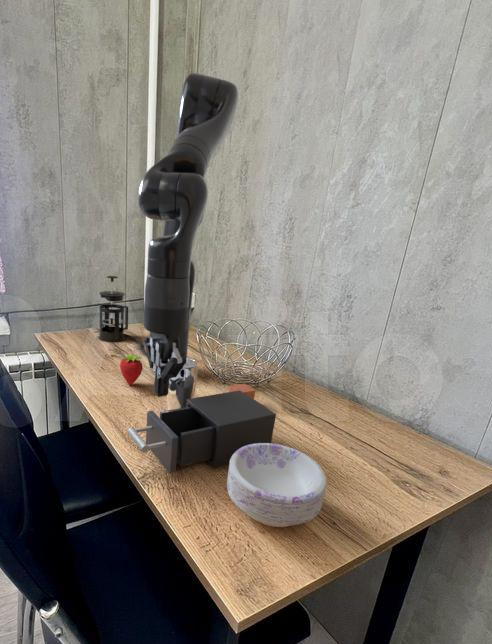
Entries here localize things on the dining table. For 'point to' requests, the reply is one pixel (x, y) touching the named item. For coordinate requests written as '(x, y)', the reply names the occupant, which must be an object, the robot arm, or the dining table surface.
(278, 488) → the paper bowls
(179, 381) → the beer glass
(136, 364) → the strawberry
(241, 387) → the block
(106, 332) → the french press
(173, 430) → the drawer
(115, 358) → the dining table surface
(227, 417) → the cabinet
